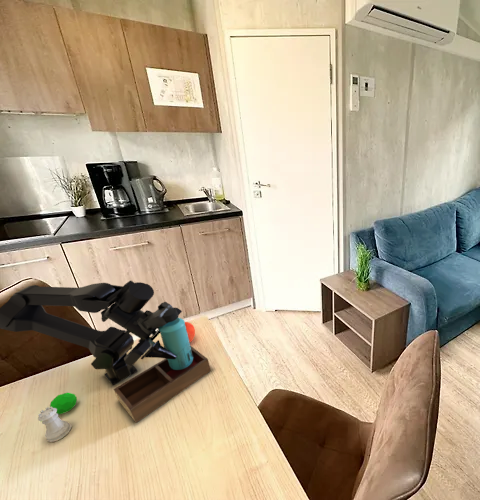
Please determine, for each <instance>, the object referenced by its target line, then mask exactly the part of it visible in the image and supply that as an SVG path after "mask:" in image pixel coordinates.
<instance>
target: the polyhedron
mask: <svg viewBox="0 0 480 500" xmlns="http://www.w3.org/2000/svg"><path fill="white" fill-rule="evenodd" d="M77 402H78V398H77V396H76V394H75V393H72V392H64V393H61V394H58V395H56V396H55V398H53V399H52V400H51V401H50V404H49V408H50V407H53V408H56V409H57V412H56V413H58V415H62V414H65V413H68V412H70V411H71V410H73V408H74V407H75V406H76V404H77Z"/></svg>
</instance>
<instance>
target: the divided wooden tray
mask: <svg viewBox="0 0 480 500" xmlns="http://www.w3.org/2000/svg"><path fill="white" fill-rule="evenodd" d="M190 347H191V349H192V354H193V357H194V358H193V361H192V363H191V364H190V365H189V366H188V367H186V368H184V369H181V370H173V369H171V367H170V366H169V365H168V364H169V363H168V359H165V358H163V359H162V360H160V361H159V362H158V363H156V364H153V365H152V366H150V367H149V368H147V369H145V370H143V371H142V372H140V373H138V374H137V375H135V376H134V377H131V378H130V379H128V380H127V381H125V382H123V383H121V384H119V385H118V386H116V387H115V388H113V391H114V393H115V396H116V398H117V400H118V401H119V403H120V404H121V406H122V407H123V408H124V410H125V411H126V412H127V414H128V415H129V416H130V418H131V419H132V420H133V421H134V422H135V423H136V424H137V423H139V422H140V421H141V420H143V419H144V418H146V417H148V415H150V414H151V413H153V412H155V410H157V409H158V408H160V407H161V406H163V405H164V404H165V403H167V402H169V401H170V400H172V399H173V398H174V397H176V396H177V395H179V394H180V393H181V392H183V391H184V390H186V389H187V388H188V387H190V386H191V385H193V384H194V383H196V382H197V381H198V380H200V379H201V378H203V377H205V376H206V375H207V374H208V373H210V372H212V369H211V365H210V362H209V359H208V357H206V356H205V355H203V354H202V353H201V352H200V351H198V350H197V349H196V348H194V347H193V346H192V344H190Z"/></svg>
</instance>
